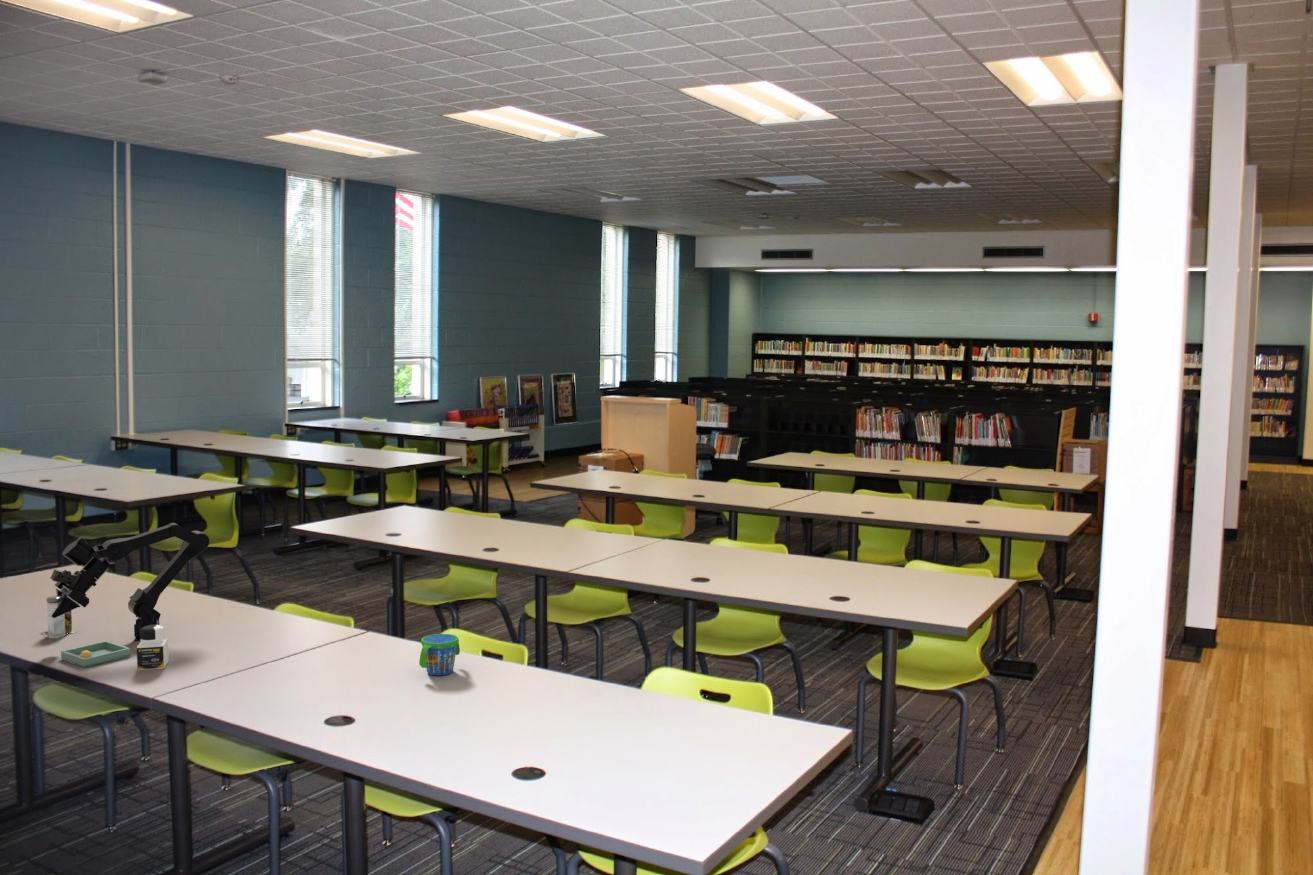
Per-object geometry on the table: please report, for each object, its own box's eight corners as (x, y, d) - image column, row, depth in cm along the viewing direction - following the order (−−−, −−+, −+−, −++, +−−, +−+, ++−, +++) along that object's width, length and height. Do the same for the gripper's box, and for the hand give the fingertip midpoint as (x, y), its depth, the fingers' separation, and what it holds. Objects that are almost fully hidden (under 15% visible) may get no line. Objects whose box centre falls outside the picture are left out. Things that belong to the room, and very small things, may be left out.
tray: (107, 648, 316) (106, 640, 316) (130, 656, 308) (130, 648, 308) (61, 659, 305) (60, 651, 304) (84, 667, 297) (84, 659, 297)
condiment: (76, 633, 332) (74, 597, 331) (46, 638, 326) (44, 601, 325) (69, 628, 337) (68, 592, 336) (40, 633, 332) (39, 597, 330)
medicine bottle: (137, 670, 295) (135, 630, 294) (142, 663, 302) (141, 623, 301) (164, 669, 297) (162, 628, 296) (168, 661, 304) (167, 622, 303)
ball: (93, 658, 304) (92, 648, 304) (89, 661, 301) (89, 651, 301) (82, 659, 303) (81, 649, 303) (78, 662, 300) (78, 652, 300)
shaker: (68, 633, 313) (66, 595, 312) (62, 637, 309) (60, 599, 307) (51, 634, 312) (49, 596, 311) (45, 638, 308) (43, 599, 307)
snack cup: (446, 662, 306) (446, 629, 305) (472, 668, 300) (472, 635, 299) (407, 676, 293) (406, 641, 292) (433, 683, 287) (433, 647, 286)
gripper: (61, 554, 318) (21, 594, 311) (75, 564, 304) (34, 606, 298) (90, 575, 324) (52, 615, 317) (105, 586, 310) (66, 627, 304)
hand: (50, 615), depth 309 cm, fingers closed on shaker, 4 cm apart
